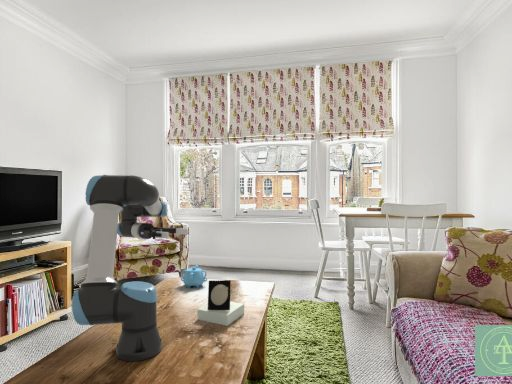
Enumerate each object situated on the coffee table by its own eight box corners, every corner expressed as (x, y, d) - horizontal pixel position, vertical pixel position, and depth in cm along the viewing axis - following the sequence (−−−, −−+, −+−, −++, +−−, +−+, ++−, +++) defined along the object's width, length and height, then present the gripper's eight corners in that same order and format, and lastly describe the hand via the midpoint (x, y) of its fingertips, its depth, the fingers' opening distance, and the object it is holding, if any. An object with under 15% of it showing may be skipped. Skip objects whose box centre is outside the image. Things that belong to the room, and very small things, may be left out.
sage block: (227, 327, 137) (227, 315, 137) (197, 320, 144) (197, 309, 144) (244, 314, 151) (244, 303, 151) (215, 309, 157) (216, 298, 157)
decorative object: (209, 308, 150) (231, 309, 150) (206, 310, 140) (229, 310, 140) (210, 280, 153) (231, 280, 153) (207, 280, 143) (230, 280, 143)
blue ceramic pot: (189, 291, 184) (189, 271, 184) (177, 284, 196) (178, 265, 195) (208, 287, 192) (209, 268, 192) (196, 280, 203) (197, 262, 203)
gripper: (161, 235, 173) (194, 238, 164) (123, 242, 150) (158, 245, 141) (161, 220, 173) (194, 222, 163) (123, 225, 150) (158, 228, 141)
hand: (178, 233), depth 152 cm, fingers open, 13 cm apart
